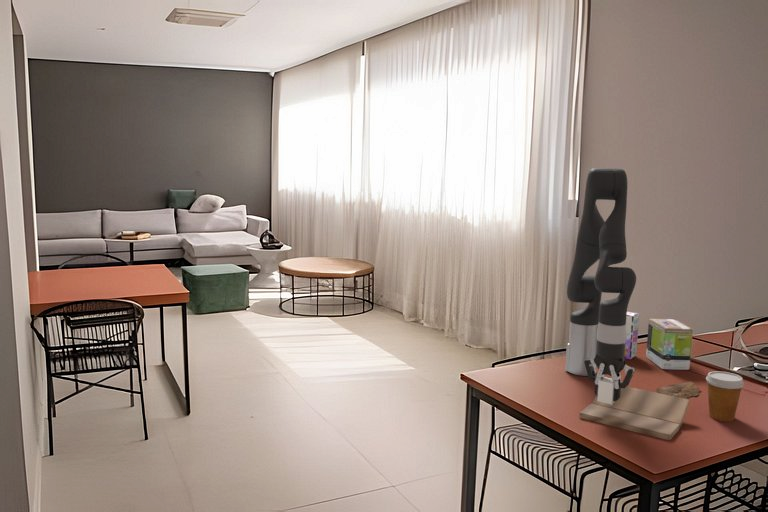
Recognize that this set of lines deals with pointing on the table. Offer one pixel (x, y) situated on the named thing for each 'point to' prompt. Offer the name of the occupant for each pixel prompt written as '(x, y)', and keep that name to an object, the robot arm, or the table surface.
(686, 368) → the tea box
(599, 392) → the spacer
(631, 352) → the candy box
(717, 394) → the disposable coffee cup
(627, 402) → the board
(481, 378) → the table surface
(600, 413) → the floor board
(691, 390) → the flat brown piece
